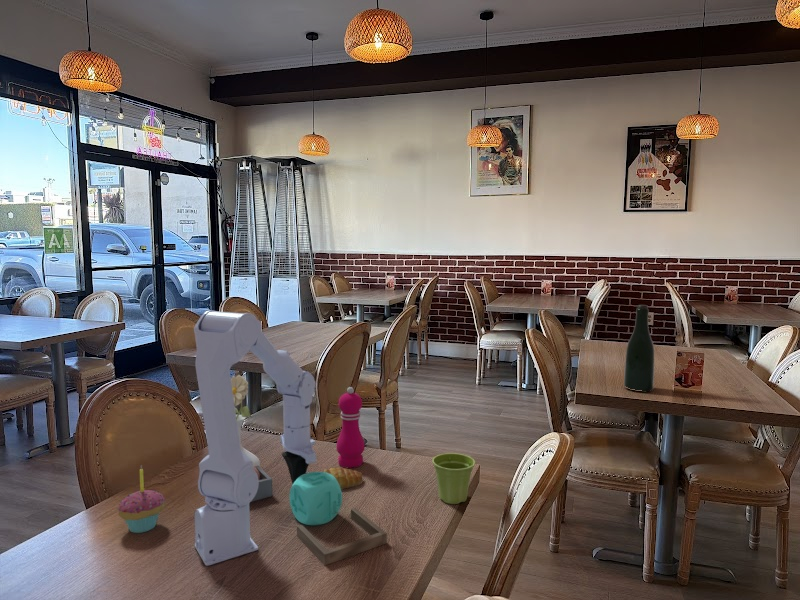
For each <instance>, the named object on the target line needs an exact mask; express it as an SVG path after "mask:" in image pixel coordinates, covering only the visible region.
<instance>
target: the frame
mask: <svg viewBox="0 0 800 600" xmlns="http://www.w3.org/2000/svg"><path fill="white" fill-rule="evenodd" d="M350 519H351V520H352V521H353V522H354V523H356V524H357V525H358V526H360V528H361V529H362V530H364V531H366V533H368V534H369V535H368V536H365V537H362V538H360V539H357V540H354V541H350V542H347V543H345V544H342V545H339V546H336V547H333V548H330V549H327V548H325V547H326V546H325V547H324V545H323V544H321V542H320V541H319V540H318V539H317V538H316V537H315V536H314V535H313V534H312V533H311V532H310V531H309V530H308V529H307V528H306V527H305V526H304V524H303V523H301V524H299V525H296V536H297V538H299V540H301V542H302V543H303V544H304V545H305V546H306V547H307V548H308V549H309V550H310V551H311V552H312V554H313V555H314V556H315V557H316V558H317V559H319V561H320V562H321V563H322V564H323V565H324V566H327V565H330V564H333V563H336V562H339V561H341V560H344V559H347V558H350V557H353V556H355V555H358V554H361V553H363V552H366V551H369V550H372V549H375V548H377V547H380V546H383V545H385V544H388V534H387V532H386V531H385V530H384V529H382V528H381V527H380V526H379V525H378V524H376V523H375V522H373V521H372V520H371V519H370V518H368V517H367V515H365V514H364V513H363V512H361V511H360V510H359V509H357V508H356V507H353V508H351V509H350Z"/></svg>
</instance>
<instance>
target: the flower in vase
mask: <svg viewBox="0 0 800 600" xmlns="http://www.w3.org/2000/svg"><path fill="white" fill-rule="evenodd" d="M231 384H232V391H233V398H234V405H235V413H236V420H237V427H238V434H239V441H240V449H241V450H242V451H243V452H244V453H245V454H246V455H247V456H248V457H249V458H250V459H251V460H252V463H253V466H259V467H261V460H260V459H259V457H257V456H256V455H255V454H254V453H252V452H250V451H249V450H247V449H246V448H245V447H243V445H242V441H241V434H242V433H241V431H242V427H243V426H242V425H243V423H244V422H245V420H246V418H249V417H251V415H252V414H251V413H250V409H249V407H248V406H247V405H246V406H243V400H245V398H246V395H247V394H248V392H249V390H248V389H249V386H248V385H249V382H248V381H247V380H246V378H243V376H241V375H240V374H238V375H237V376H235V375H232V377H231ZM238 405H240V409H239V410H238V408H236V407H237V406H238Z"/></svg>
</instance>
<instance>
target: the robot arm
mask: <svg viewBox="0 0 800 600" xmlns="http://www.w3.org/2000/svg"><path fill="white" fill-rule="evenodd" d="M262 328H263V325H262V322H261V321H260V320H258V319H257V316H256V315H254V313H251V312H229V311H217V310H213V309H210V310H207V311H205V312H204V313H203V314H201V315H200V317H199V318H198V321H197V322H196V323H195V325H194V327H193V332H194V340H195V345H196V353H195V365H194V366H195V373H196V379H197V385H198V391H199V397H200V398H199V399H200V405H201V412H202V418H203V424H204V431H205V438H206V444H207V450H208V454H207V455H206V456H205V457H204V458H203V459H202V460H201V461H199V463H198V469H199V473H198V480H197V488H198V489H197V490H198V492H199V494H200V495H201V496H203V497H204V503H206V504H205V505H204V506H201V507H200V508H196V509H195V512H194V536H195V540H194V542H195V543H194V548H195V550H196V551H197V553H198V555H199V556H200V558H201V560H202V562H203V563H204V565H205V566H207V567H208V566H211V565H214V564H218V563H221V562H224V561H227V560H230V559H234V558H237V557H240V556H243V555H246V554H249V553H252V552H255V551H258V549H259V547H258V545H257V543H255V542H254V540H253V539H252V538H251V522H250V521H251V520H250V517H251V516H250V503H252V502H253V501H252V499H253V498H254V497H255V495H256V493H257V490H258V485H259V480H258V475H257V473H256V472H255V470H254V468H253V463H252V460H251V459H250V458H249V457H248V456H247V455H246V454H245V453H244V452H243V451H242V450H241V449H240V441H239V434H238V427H237V420H236V415H237V413H236V412H235V408H236V406H235V404H234V398H233V391H232V384H231V378H232V377H231V367H233V365H235V364H237V363H239V362H240V360H241V359H242V358H243V357H244V356H245V355H246V354H247V353H248V352H250V353H251V354H253V355H254V356H255V357H256V358H258V359H259V360H260V361H261V362H262V363H263V364H262V368H263V372H264V373H266V375H268V377H270V378H271V379H272V380H273V381H274V383H275V385H276V391H277V392H278V394H280V395H282V403H283V404H282V406H283V407H282V412H283V413H282V414H283V415H282V416H283V417H282V418H283V434H280V435H279V437H280V439H279V441H280V444H281V445H282V448H283V450H284V451H283V452H282V453H281V456H282V457H283V459H284V461H285V463H286V466H287V469H288V472H289V477H290V480H291V483H292V485H293V483H294V482H295V481H296V479H297V478H298V477H299V476H301V475H303V474H306V473H307V470H308V467H309V465H310V464H313V463H314V464H315V463H317V453H316V452H315V451H314V448H313V445H316V440H315V439H313V438H311V404H312V401H313V394H314V391H315V388H316V381H315V378H314V375H312V373H311V372H310V371H308V370H307V371H306V370H303V368H301V367H300V364H299V363H297V362H296V361H295V360H294V359H293V358H292V357H291V356H290V355H291V353H290V352H289V351H288V350H282V349H276V348H275V346H274V344H272V342H271V341H270V340H269V338H268V337H267V336H266V334H265V333H264V331H263V329H262ZM251 501H252V502H251Z"/></svg>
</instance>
